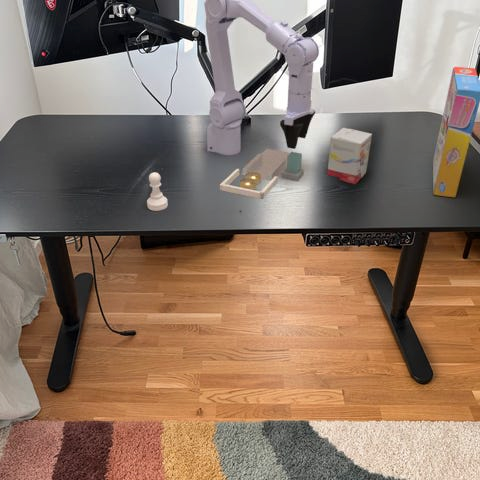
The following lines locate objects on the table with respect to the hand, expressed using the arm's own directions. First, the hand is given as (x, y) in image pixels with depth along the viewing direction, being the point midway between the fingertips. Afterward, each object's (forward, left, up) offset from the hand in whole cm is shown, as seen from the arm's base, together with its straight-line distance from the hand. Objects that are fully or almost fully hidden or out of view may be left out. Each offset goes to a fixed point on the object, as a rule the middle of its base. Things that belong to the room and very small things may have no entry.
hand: (296, 142), depth 136 cm
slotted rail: (-8, +3, -10) cm, 13 cm away
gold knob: (-8, -9, -10) cm, 16 cm away
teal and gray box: (0, -1, -10) cm, 10 cm away
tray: (-8, -12, -10) cm, 18 cm away
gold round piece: (-8, -13, -10) cm, 18 cm away
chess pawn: (-25, -29, -10) cm, 40 cm away
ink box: (+13, +7, -10) cm, 18 cm away
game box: (+37, +15, -10) cm, 41 cm away
